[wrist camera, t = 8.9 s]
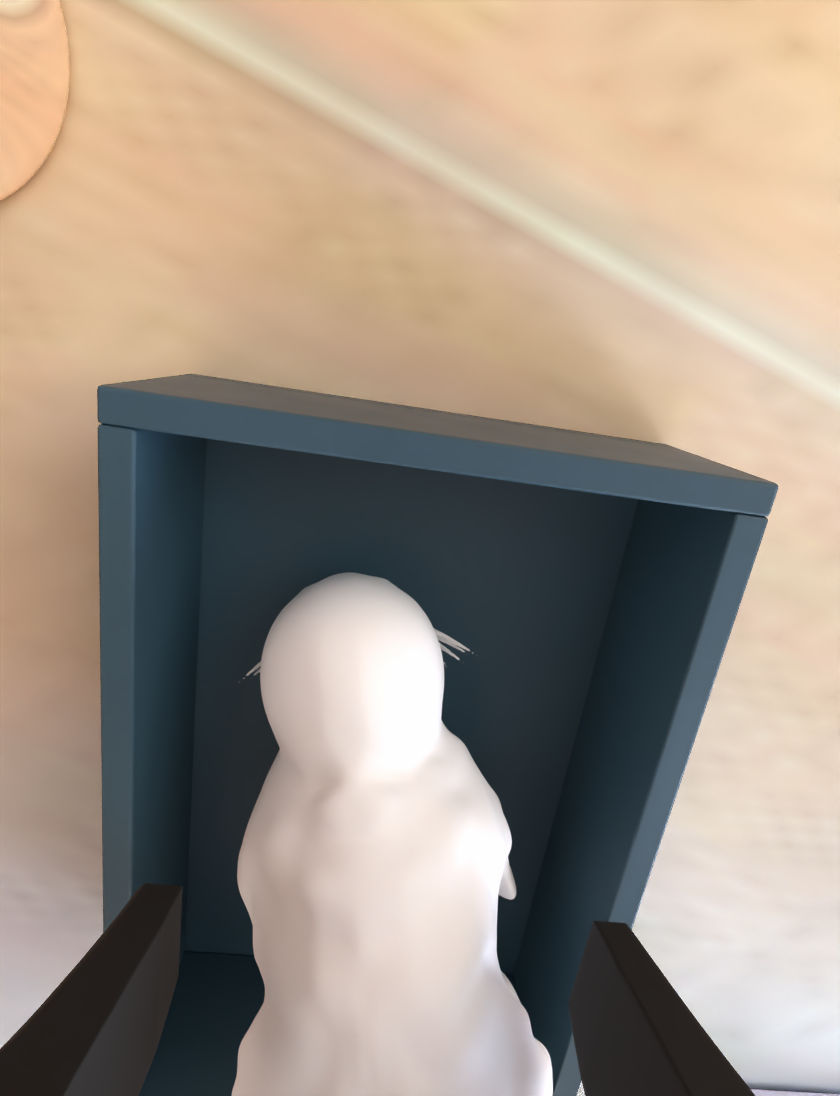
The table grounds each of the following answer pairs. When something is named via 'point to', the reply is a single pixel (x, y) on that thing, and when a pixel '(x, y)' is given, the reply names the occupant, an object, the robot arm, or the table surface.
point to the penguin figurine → (375, 869)
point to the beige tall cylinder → (30, 86)
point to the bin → (454, 609)
